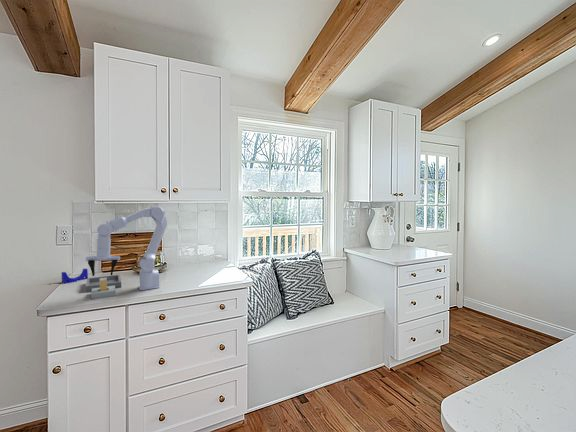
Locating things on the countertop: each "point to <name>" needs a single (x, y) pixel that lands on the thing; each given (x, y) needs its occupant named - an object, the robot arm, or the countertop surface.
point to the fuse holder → (103, 292)
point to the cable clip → (68, 280)
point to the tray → (95, 282)
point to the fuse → (103, 284)
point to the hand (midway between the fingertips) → (102, 275)
